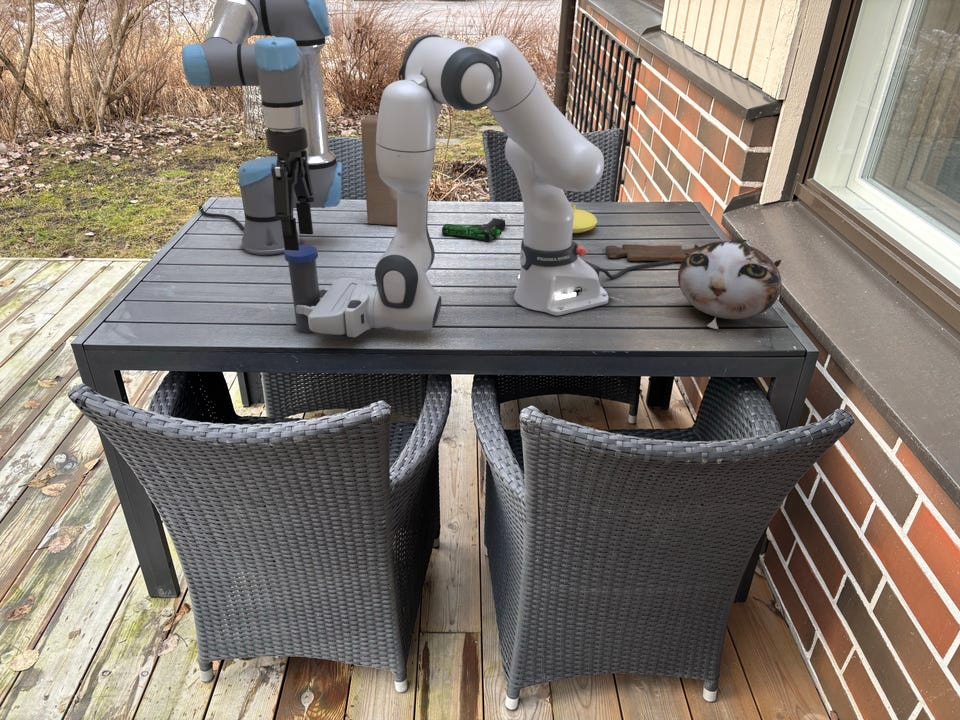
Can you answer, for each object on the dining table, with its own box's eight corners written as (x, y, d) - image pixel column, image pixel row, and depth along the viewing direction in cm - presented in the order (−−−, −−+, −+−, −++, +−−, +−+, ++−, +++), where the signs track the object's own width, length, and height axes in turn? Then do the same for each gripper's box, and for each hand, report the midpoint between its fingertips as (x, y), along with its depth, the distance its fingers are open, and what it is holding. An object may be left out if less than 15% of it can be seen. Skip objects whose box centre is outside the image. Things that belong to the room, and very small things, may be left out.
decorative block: (416, 227, 210) (413, 122, 195) (367, 224, 212) (359, 120, 196) (422, 218, 216) (419, 116, 201) (373, 215, 218) (367, 114, 203)
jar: (298, 321, 159) (289, 247, 150) (324, 320, 159) (316, 247, 150) (295, 333, 154) (285, 258, 145) (321, 332, 154) (313, 257, 146)
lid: (287, 251, 151) (286, 244, 150) (319, 251, 151) (319, 244, 151) (282, 264, 145) (281, 257, 144) (316, 263, 146) (315, 256, 145)
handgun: (511, 219, 210) (493, 234, 198) (511, 228, 211) (492, 244, 199) (461, 212, 215) (440, 226, 203) (461, 221, 217) (440, 236, 204)
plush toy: (655, 305, 156) (684, 221, 158) (671, 327, 172) (697, 250, 173) (760, 330, 146) (790, 239, 147) (766, 351, 161) (793, 268, 163)
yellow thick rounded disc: (559, 216, 220) (561, 193, 217) (605, 227, 212) (608, 204, 209) (532, 230, 209) (533, 207, 206) (580, 242, 201) (582, 218, 198)
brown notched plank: (705, 264, 190) (697, 250, 198) (707, 258, 189) (698, 245, 198) (608, 261, 190) (604, 247, 199) (609, 255, 189) (605, 241, 198)
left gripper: (285, 115, 144) (298, 223, 156) (244, 140, 126) (262, 260, 138) (321, 116, 144) (332, 224, 155) (285, 141, 125) (300, 262, 137)
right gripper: (377, 272, 159) (317, 268, 161) (349, 314, 142) (283, 308, 143) (379, 298, 162) (320, 293, 164) (352, 341, 145) (287, 336, 147)
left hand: (299, 241), depth 146 cm, fingers open, 8 cm apart
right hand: (302, 301), depth 154 cm, fingers closed on jar, 5 cm apart
